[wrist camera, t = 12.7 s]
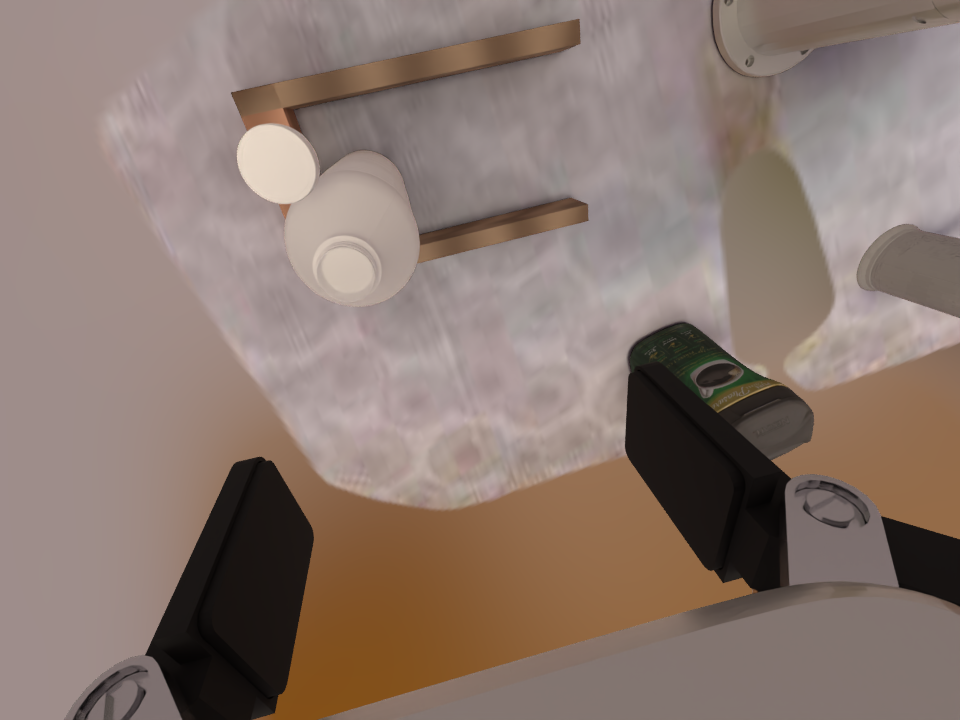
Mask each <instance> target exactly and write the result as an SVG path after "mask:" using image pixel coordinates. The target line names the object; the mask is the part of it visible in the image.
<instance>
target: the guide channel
mask: <svg viewBox="0 0 960 720" xmlns="http://www.w3.org/2000/svg"><path fill="white" fill-rule="evenodd" d="M578 44H580V22H579V19H576V20H572V21H567V22H562V23H558V24H553V25H548V26H543V27H539V28H534V29H529V30H524V31H520V32H515V33H510V34H505V35H501V36H496V37H491V38H487V39H482V40H477V41H472V42H468V43H463V44H458V45H453V46H449V47H444V48H439V49H435V50H430V51H425V52H420V53H416V54H411V55H406V56H401V57H397V58H392V59H387V60H383V61H378V62H373V63H368V64H364V65H359V66H354V67H349V68H345V69H340V70H335V71H330V72H326V73H321V74H316V75H312V76H307V77H302V78H297V79H293V80H288V81H283V82H278V83H274V84H269V85H264V86H260V87H255V88H250V89H245V90H241V91H236V92H231V94H232V97H233V99H234V101H235V104H236V106H237V108H238V111H239V113H240V115H241V118H242V120H243V122H244V124H245V127H246V129H247V131H249V129H251V128H253V127H256V126H258V125H260V124H269V123H275V124H282V125H286V126H289V127H291V128H293V129H295V130H297V131H298V132H299V133H301V134H302V132H301V130H300V127H299V124H298V121H297V119H296V116H295V113H294V111H293V110H294V109H299V108H303V107H308V106H312V105H317V104H322V103H326V102H331V101H335V100H340V99H345V98H349V97H354V96H359V95H363V94H368V93H372V92H377V91H382V90H386V89H391V88H395V87H400V86H405V85H409V84H414V83H418V82H423V81H428V80H432V79H437V78H442V77H446V76H451V75H455V74H460V73H465V72H469V71H474V70H478V69H483V68H488V67H492V66H497V65H502V64H506V63H511V62H515V61H520V60H525V59H529V58H534V57H538V56H543V55H548V54H552V53H557V52H561V51H564V50H566V49H569V48H571V47H574V46H576V45H578ZM290 205H291V204H279V206H280V208H281V210H282V213H283V215H284V217H285V220H286V216H287V213H288V210H289V208H290ZM585 221H588V204H586V203H583V202H581V201H578V200H576V199H573V198H568V199H564V200H560V201H556V202H551V203H547V204H543V205H539V206H535V207H531V208H527V209H523V210H519V211H515V212H511V213H506V214H502V215H498V216H494V217H490V218H486V219H482V220H478V221H474V222H470V223H466V224H461V225H457V226H453V227H449V228H445V229H441V230H437V231H433V232H429V233H425V234H421V235H419V239H420V251H419V258H418V262H417V263H421V262H425V261H429V260H433V259H437V258H441V257H445V256H449V255H453V254H457V253H461V252H465V251H469V250H473V249H477V248H481V247H485V246H489V245H493V244H497V243H501V242H505V241H509V240H513V239H517V238H521V237H525V236H529V235H533V234H537V233H541V232H545V231H549V230H553V229H557V228H561V227H565V226H569V225H573V224H577V223H581V222H585Z"/></svg>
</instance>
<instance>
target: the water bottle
mask: <svg viewBox="0 0 960 720" xmlns="http://www.w3.org/2000/svg"><path fill="white" fill-rule="evenodd" d="M239 142H240V143H239V144H238V147H237V148H238V149H237V162H238V163H237V164H238V167H239V170H240V173H241V175H242V177H243V178H244V181H245V182H246V183H247V185H248V186H249V187H250V188H251V189H252V190H253V191H254V192H255V193H256V194H258V195H259V196H261V197H263V198H264V199H266V200H268V201H271V202H274V203H277V204H278V203H279V204H291V205H290V208H289V210H288V213H287V216H286V220H285V226H284V241H285V247H286V251H287V255H288V258H289V260H290V262H291V265H292V267H293V268H294V270H295V272H296V273H297V275H298V276H299V277H300V279H301V280H302V281H303V282H304V283H305V284H306V285H307V286H308V287H309V288H310V289H311V290H312V291H313V292H315V293H316V294H317V295H319V296H321V297H323V298H325V299H327V300H329V301H331V302H334V303H337V304H341V305H345V306H353V307H362V306H370V305H374V304H378V303H380V302H383V301H385V300H387V299H389V298H391V297H392V296H394V295H395V294H396V293H398V292H399V291H400V290H401V289H402V288H403V287H404V286H405V285H406V284H407V282H408V281H409V279H410V278H411V276H412V274H413V272H414V270H415V268H416V265H417V262H418V258H419V251H420V239H419V232H418V227H417V224H416V221H415V218H414V215H413V213H412V209H411V205H410V201H409V198H408V195H407V191H406V188H405V185H404V181H403V178H402V176H401V174H400V172H399V170H398V169H397V167H396V166H395V165H394V164H393V163H392V162H391V161H390V160H389V159H388V158H386V157H385V156H383V155H381V154H379V153H376V152H373V151H368V150H360V151H355V152H352V153H349V154H348V155H346V156H344V157H343V158H342V159H340V160H339V161H338V162H337V163H335V164H334V165H333V166H331V167H330V168H329V169H327V170H326V171H325V172H324V173H323V174H322V175H321V176H319V175H320V164H319V160H318V156H317V154H316V152H315V150H314V148H313V146H312V145H311V143H310V142H309V141H308V140H307V139H306V138H305V137H304V136H303V135H302V134H301V133H299V132H298V131H297V130H295V129H293V128H291V127H289V126H286V125H282V124H275V123H269V124H260V125H258V126H256V127H253V128H251V129H249V131H247V132H246V133H245V134H244V135H243V137H242V139H240V141H239Z"/></svg>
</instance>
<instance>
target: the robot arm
mask: <svg viewBox="0 0 960 720" xmlns="http://www.w3.org/2000/svg"><path fill="white" fill-rule="evenodd" d="M955 23H960V0H714V3H713V28H714V34H715V39H716V43H717V45H718V48H719V51H720V53H721V55H722V57H723V58H724V60H725V61H726V63H727V64H728V65H729V66H730V67H731V68H732V69H733V70H735V71H736V72H738V73H740V74H742V75H744V76H749V77H766V76H771V75H776V74H780V73H782V72H784V71H786V70H788V69H790V68H792V67H794V66H795V65H796V64H798V63H799V62H801V61H802V60H804V59H805V58H806V57H807V56H808V55H809V54H810V53H811V52H812V51H813V50H814V49H815V48H819V47H825V46H831V45H836V44H842V43H848V42H853V41H859V40H865V39H870V38H876V37H882V36H887V35H893V34H899V33H904V32H910V31H915V30H921V29H927V28H932V27H938V26H944V25H949V24H955ZM625 450H626V453H627V456H628V458H629V460H630V461H631V463H632V464H633V466H634V467H635V468H636V470H637V471H638V473H639V474H640V476H641V477H642V478H643V480H644V481H645V483H646V484H647V485H648V487H649V488H650V490H651V491H652V493H653V494H654V496H655V497H656V498H657V500H658V501H659V503H660V504H661V506H662V507H663V508H664V510H665V511H666V513H667V514H668V515H669V517H670V518H671V520H672V521H673V523H674V524H675V526H676V527H677V528H678V530H679V531H680V533H681V534H682V535H683V537H684V538H685V540H686V541H687V543H688V544H689V546H690V547H691V548H692V550H693V551H694V552H695V554H696V555H697V557H698V558H699V560H700V561H701V563H702V564H703V565H704V566H705V568H707V569H708V570H710V571H712V570H714V571H715V572H716V574H717V575H718V576H719V578H720V579H721V581H722V582H723V583H725V582H729V581H732V580H736V579H739V578H743V579H744V580H745V582H746V583H747V584H748V585H749V586H750V588H752V589H753V592H752V594H750V595H746V596H743V597H739V598H735V599H731V600H728V601H724V602H721V603H717V604H713V605H709V606H705V607H701V608H698V609H694V610H690V611H687V612H683V613H680V614H676V615H673V616H669V617H666V618H662V619H659V620H655V621H652V622H648V623H645V624H641V625H638V626H634V627H631V628H627V629H624V630H621V631H617V632H614V633H610V634H607V635H603V636H600V637H597V638H593V639H589V640H586V641H582V642H579V643H575V644H572V645H569V646H565V647H562V648H558V649H555V650H552V651H548V652H545V653H541V654H538V655H534V656H531V657H528V658H524V659H521V660H517V661H514V662H511V663H507V664H504V665H500V666H497V667H493V668H490V669H487V670H483V671H480V672H476V673H473V674H470V675H466V676H463V677H460V678H456V679H453V680H450V681H446V682H443V683H439V684H436V685H433V686H429V687H426V688H422V689H419V690H416V691H413V692H409V693H406V694H402V695H399V696H396V697H393V698H389V699H386V700H382V701H379V702H376V703H372V704H369V705H366V706H362V707H359V708H356V709H353V710H349V711H346V712H342V713H339V714H335V715H332V716H329V717H325V718H322V719H319V720H960V539H957V538H953V537H950V536H946V535H943V534H940V533H936V532H933V531H929V530H926V529H923V528H920V527H916V526H913V525H909V524H906V523H903V522H899V521H896V520H893V519H889V518H886V517H882V516H881V515H880V513H879V511H878V509H877V507H876V505H875V504H874V503H873V502H872V501H871V500H870V499H869V498H868V497H867V496H866V495H865V494H863V493H862V492H861V491H859V490H858V489H857V488H855V487H853V486H851V485H849V484H847V483H845V482H843V481H840V480H837V479H835V478H831V477H828V476H823V475H815V474H810V475H800V476H797V477H795V478H792V479H791V478H790V477H789V476H787V475H786V474H785V473H784V472H783V471H782V470H781V469H780V468H778V467H777V466H776V465H775V464H774V463H773V462H772V461H771V460H770V459H768V458H767V457H766V456H765V455H764V454H763V453H762V452H761V451H760V450H758V449H757V448H756V447H755V446H754V445H753V444H752V443H751V442H750V441H748V440H747V439H746V438H745V437H744V436H743V435H742V434H741V433H740V432H738V431H737V430H736V429H735V428H734V427H733V426H732V425H731V424H729V423H728V422H727V421H726V420H725V419H724V418H723V417H722V416H721V415H719V414H718V413H717V412H716V411H715V410H714V409H713V408H712V407H710V406H709V405H708V404H706V403H705V402H704V401H703V400H702V399H701V398H699V397H698V396H697V395H696V394H695V393H694V392H693V391H692V390H691V389H689V388H688V387H687V386H686V385H685V384H684V383H683V382H682V381H681V380H679V379H678V378H677V377H676V376H675V375H674V374H673V373H672V372H671V371H669V370H668V369H667V368H666V367H665V366H664V365H663V364H662V363H660V362H658V361H655V362H651V363H647V364H643V365H638V366H636V367H635V368H634V372H633V373H630V374H629V377H628V395H627V416H626V437H625ZM313 541H314V536H313V530H312V527H311V525H310V523H309V522H308V520H307V518H306V517H305V515H304V513H303V512H302V510H301V508H300V507H299V505H298V503H297V502H296V500H295V498H294V496H293V495H292V493H291V492H290V490H289V488H288V486H287V485H286V483H285V481H284V480H283V478H282V476H281V475H280V473H279V471H278V470H277V468H276V466H275V465H274V463H273V462H272V461H266V460H265V459H264V458H262V457H256V458H252V459H248V460H244V461H239V462H236V463H235V464H234V465H233V467H232V468H231V470H230V472H229V475H228V477H227V479H226V481H225V483H224V485H223V487H222V490H221V492H220V494H219V496H218V498H217V500H216V503H215V505H214V507H213V509H212V511H211V513H210V516H209V518H208V520H207V522H206V524H205V527H204V529H203V531H202V533H201V535H200V537H199V539H198V542H197V544H196V546H195V548H194V550H193V553H192V555H191V557H190V559H189V561H188V563H187V565H186V568H185V570H184V572H183V574H182V576H181V578H180V580H179V583H178V585H177V587H176V589H175V592H174V594H173V596H172V598H171V600H170V602H169V604H168V606H167V609H166V611H165V613H164V616H163V617H162V619H161V622H160V624H159V626H158V628H157V630H156V633H155V635H154V637H153V639H152V641H151V644H150V646H149V648H148V650H147V653H146V654H145V655H141V656H135V657H131V658H128V659H126V660H124V661H122V662H120V663H118V664H116V665H114V666H113V667H112V668H110V669H109V670H107V671H106V672H104V673H103V674H101V675H100V676H99V677H98V678H97V679H96V680H95V681H94V682H93V683H92V684H91V685H90V686H89V687H87V688H86V690H85V691H84V692H83V693H82V694H81V696H80V697H79V698H78V700H76V702H75V703H74V704H73V706H72V707H71V709H70V711H69V712H68V714H67V716H66V717H65V719H64V720H253V719H256V718H259V717H263V716H267V715H270V714H273V713H275V709H276V704H277V699H278V695H279V694H282V693H283V692H284V690H285V688H286V685H287V681H288V676H289V671H290V665H291V660H292V654H293V648H294V644H295V638H296V633H297V628H298V622H299V617H300V611H301V606H302V601H303V595H304V590H305V584H306V579H307V574H308V568H309V563H310V558H311V552H312V547H313Z"/></svg>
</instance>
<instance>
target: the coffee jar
mask: <svg viewBox="0 0 960 720" xmlns="http://www.w3.org/2000/svg"><path fill="white" fill-rule="evenodd" d="M655 361H658V362H660V363H662V364H663V365H664V366H665V367H666V368H667V369H668V370H669V371H671V372H672V373H673V374H674V375H675V376H676V377H677V378H678V379H679V380H681V381H682V382H683V383H684V384H685V385H686V386H687V387H688V388H689V389H691V390H692V391H693V392H694V393H695V394H696V395H697V396H698V397H699V398H701V399H702V400H703V401H704V402H705V403H706V404H708V405H709V406H710V407H712V408H713V409H714V410H715V411H716V412H717V413H718V414H719V415H721V416H722V417H723V418H724V419H725V420H726V421H727V422H728V423H729V424H731V425H732V426H733V427H734V428H735V429H736V430H737V431H738V432H740V433H741V434H742V435H743V436H744V437H745V438H746V439H747V440H748V441H750V442H751V443H752V444H753V445H754V446H755V447H756V448H757V449H758V450H760V451H761V452H762V453H763V454H764V455H765V456H766V457H767V458H768V459H770V460H773V459H775V458H777V457H779V456H781V455H783V454H786V453H788V452H789V451H791V450H793V449H795V448H797V447H798V446H800V445H802V444H803V443H807V442H809V441H810V440H811V436H812V431H813V425H814V415H813V412H812V410H811V409H810V407H809V406H808V405H807V404H806V403H805V402H804V401H803V400H802V399H801V398H800V397H798V396H797V395H796V394H795V393H794V392H793V391H792V390H790V389H789V388H788V387H787V386H786V385H784V384H782V383H780V382H777V381H774V380H771V379H768V378H766V377H763V376H761V375H759V374H757V373H755V372H754V371H752V370H750V369H749V368H747V367H746V366H744V365H743V364H741V363H740V362H739V361H737V360H736V359H735V358H734V357H732V356H731V355H730V354H728V353H727V352H726V351H725V350H723V349H722V348H721V347H720V346H718V345H717V344H716V343H715V342H714V341H713V340H711V339H710V338H709V337H708V336H706V335H705V334H704V333H703V332H701V331H700V330H699V329H697V328H696V327H694V326H693V325H691V324H686V323H683V324H678V325H674V326H672V327H669V328H666V329H664V330H662V331H660V332H657V333H655V334H653V335H652V336H650V337H648V338H646V339H645V340H643V341H641V342H640V343H639V344H637V345H636V347H635V348H634V350H633V351H632V354H631V357H630V367H631V372H632V373H633V372H634V368H635V367H636V366H638V365H643V364H647V363H651V362H655Z"/></svg>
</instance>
